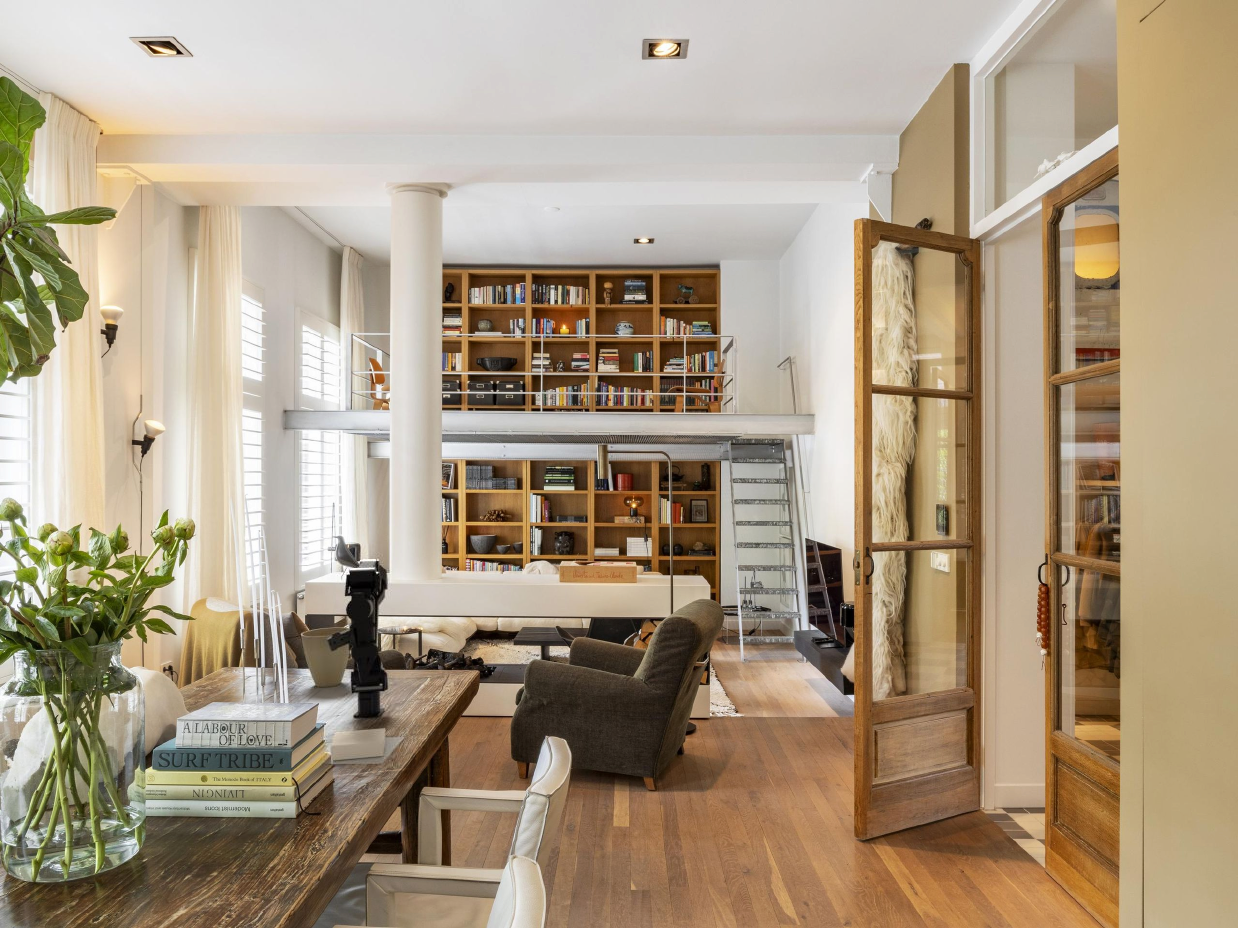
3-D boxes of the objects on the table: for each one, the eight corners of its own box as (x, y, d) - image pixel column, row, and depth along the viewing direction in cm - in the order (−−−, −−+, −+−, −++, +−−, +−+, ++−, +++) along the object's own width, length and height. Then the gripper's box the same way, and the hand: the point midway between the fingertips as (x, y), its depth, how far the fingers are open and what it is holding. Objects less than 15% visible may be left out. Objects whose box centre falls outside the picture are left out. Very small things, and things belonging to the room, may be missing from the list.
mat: (337, 739, 196) (337, 737, 196) (404, 738, 196) (404, 736, 196) (308, 765, 178) (308, 764, 178) (382, 764, 178) (382, 763, 178)
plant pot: (342, 675, 261) (342, 625, 261) (361, 684, 249) (360, 631, 250) (294, 683, 251) (294, 631, 252) (311, 693, 240) (310, 638, 240)
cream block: (335, 732, 189) (330, 745, 180) (385, 728, 192) (382, 741, 182) (335, 747, 189) (330, 761, 179) (385, 743, 192) (383, 757, 182)
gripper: (327, 617, 210) (327, 680, 209) (329, 623, 193) (329, 691, 191) (373, 615, 214) (373, 676, 213) (378, 620, 197) (378, 687, 195)
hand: (362, 682), depth 203 cm, fingers closed
